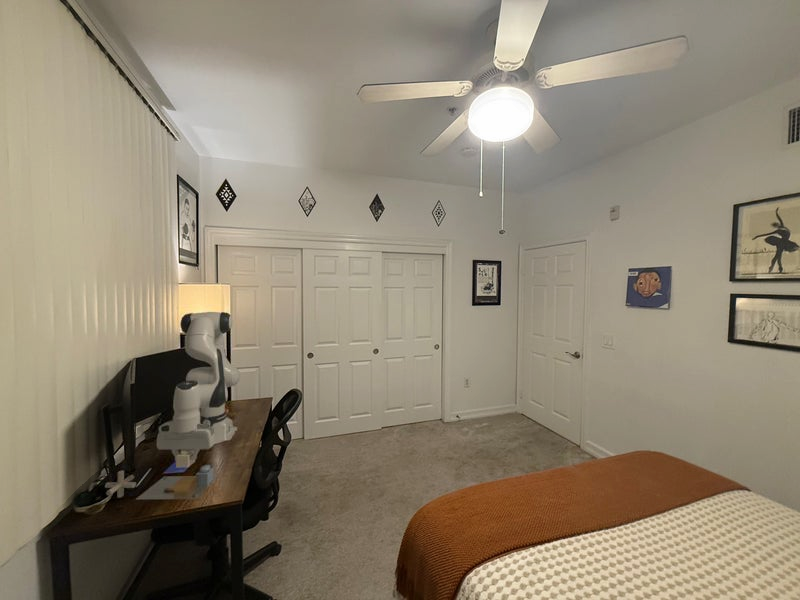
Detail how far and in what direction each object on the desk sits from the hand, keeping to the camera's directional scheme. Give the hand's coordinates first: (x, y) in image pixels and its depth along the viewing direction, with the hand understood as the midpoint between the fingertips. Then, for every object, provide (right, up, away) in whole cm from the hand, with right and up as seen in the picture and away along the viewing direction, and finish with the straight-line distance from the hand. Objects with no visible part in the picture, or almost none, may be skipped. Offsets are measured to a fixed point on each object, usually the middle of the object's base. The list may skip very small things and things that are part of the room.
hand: (185, 459), depth 121 cm
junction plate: (-4, -13, +2) cm, 14 cm away
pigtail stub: (-3, -12, 0) cm, 13 cm away
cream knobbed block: (0, -2, 0) cm, 2 cm away
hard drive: (-15, -14, +18) cm, 27 cm away
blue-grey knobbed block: (+4, -12, +6) cm, 14 cm away
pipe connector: (-22, -13, -4) cm, 26 cm away
